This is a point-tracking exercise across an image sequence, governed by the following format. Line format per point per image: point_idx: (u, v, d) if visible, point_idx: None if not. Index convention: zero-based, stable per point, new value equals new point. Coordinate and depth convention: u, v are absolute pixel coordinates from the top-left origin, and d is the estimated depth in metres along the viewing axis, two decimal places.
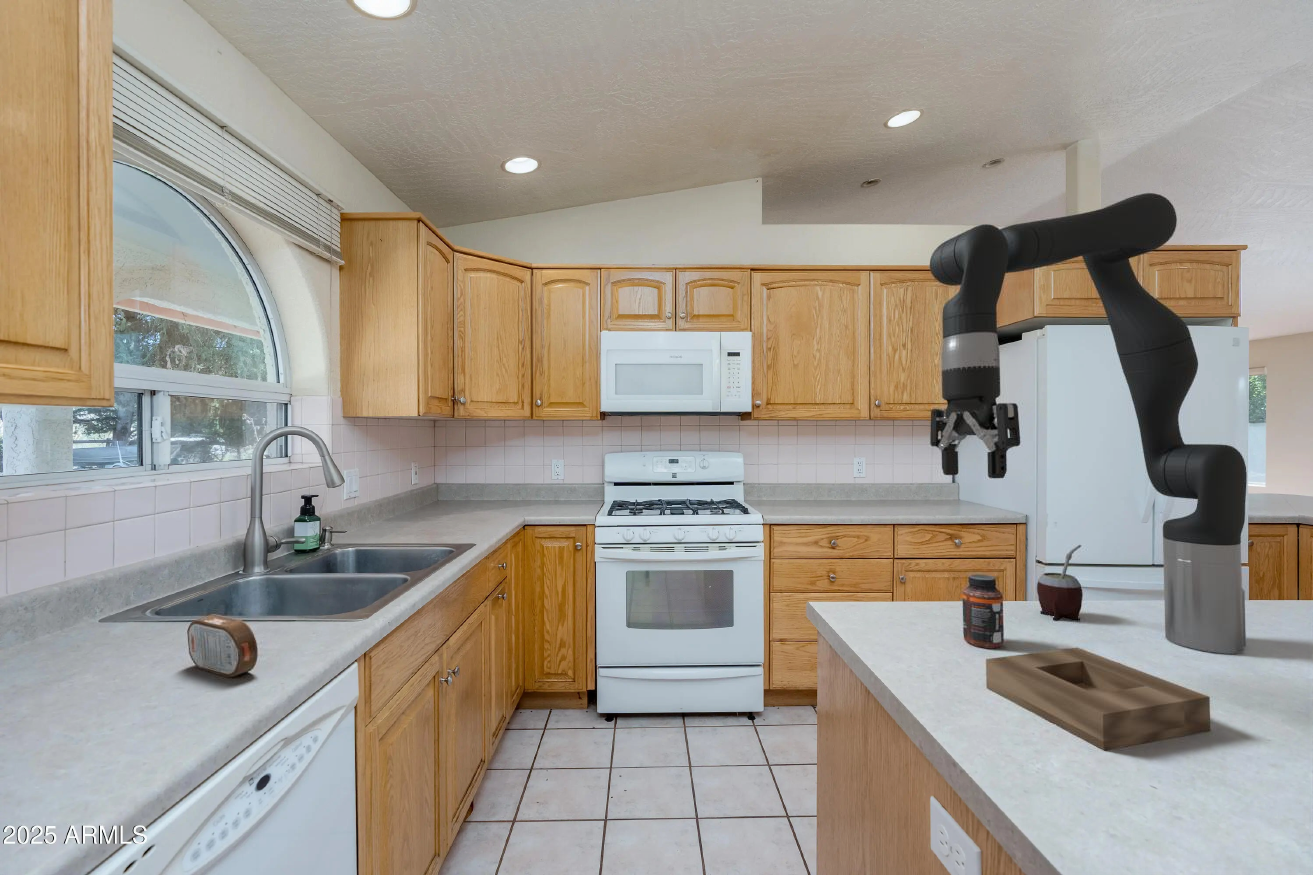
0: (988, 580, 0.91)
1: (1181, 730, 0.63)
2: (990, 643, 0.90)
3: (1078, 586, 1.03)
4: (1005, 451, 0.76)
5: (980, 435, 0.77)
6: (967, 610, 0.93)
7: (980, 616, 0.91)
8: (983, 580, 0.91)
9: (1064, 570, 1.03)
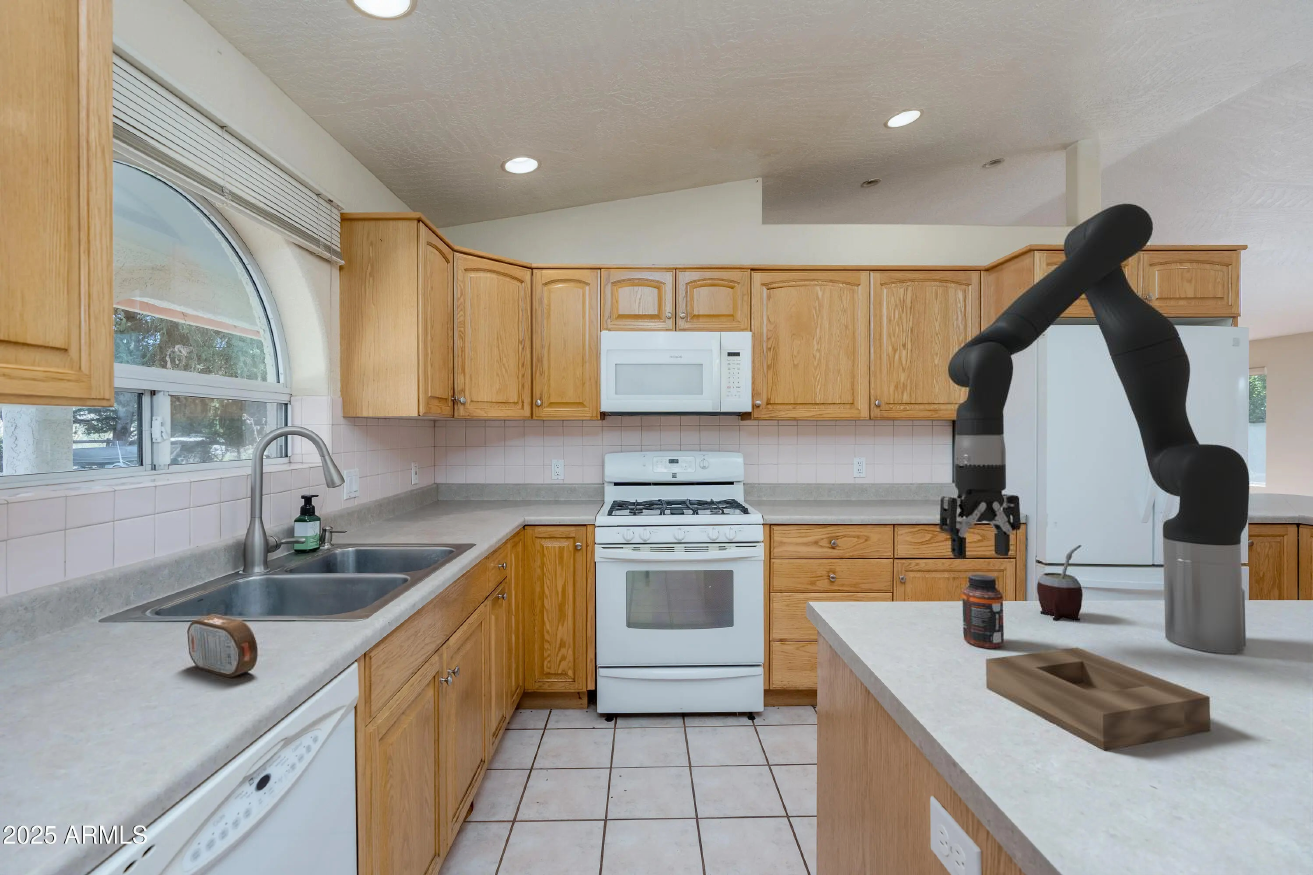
0: (988, 580, 0.91)
1: (1181, 730, 0.63)
2: (990, 643, 0.90)
3: (1078, 586, 1.03)
4: None
5: (1004, 521, 0.92)
6: (967, 610, 0.93)
7: (980, 616, 0.91)
8: (983, 580, 0.91)
9: (1064, 570, 1.03)
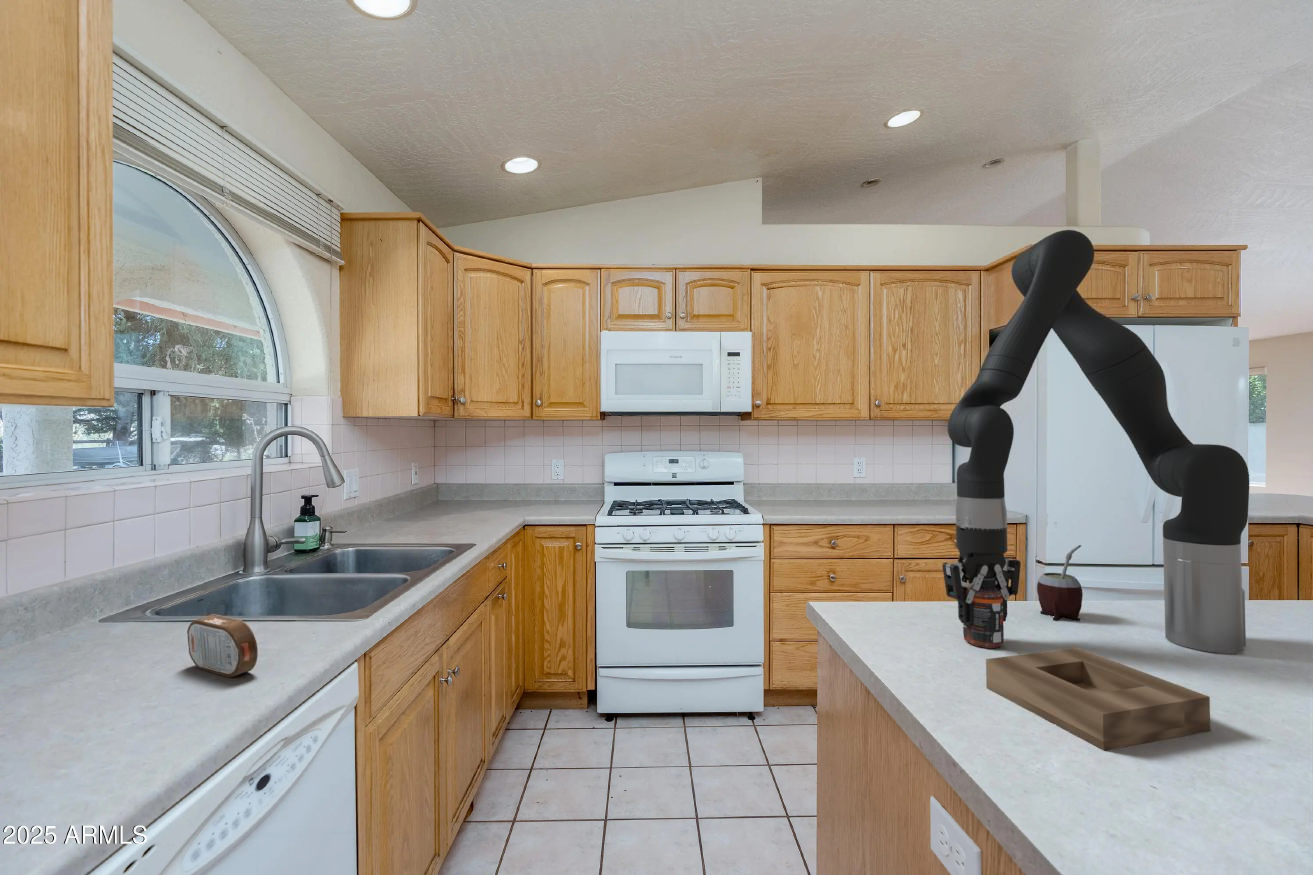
0: (988, 580, 0.91)
1: (1181, 730, 0.63)
2: (990, 643, 0.90)
3: (1078, 586, 1.03)
4: None
5: (1003, 586, 0.92)
6: None
7: (980, 616, 0.91)
8: (983, 580, 0.91)
9: (1064, 570, 1.03)
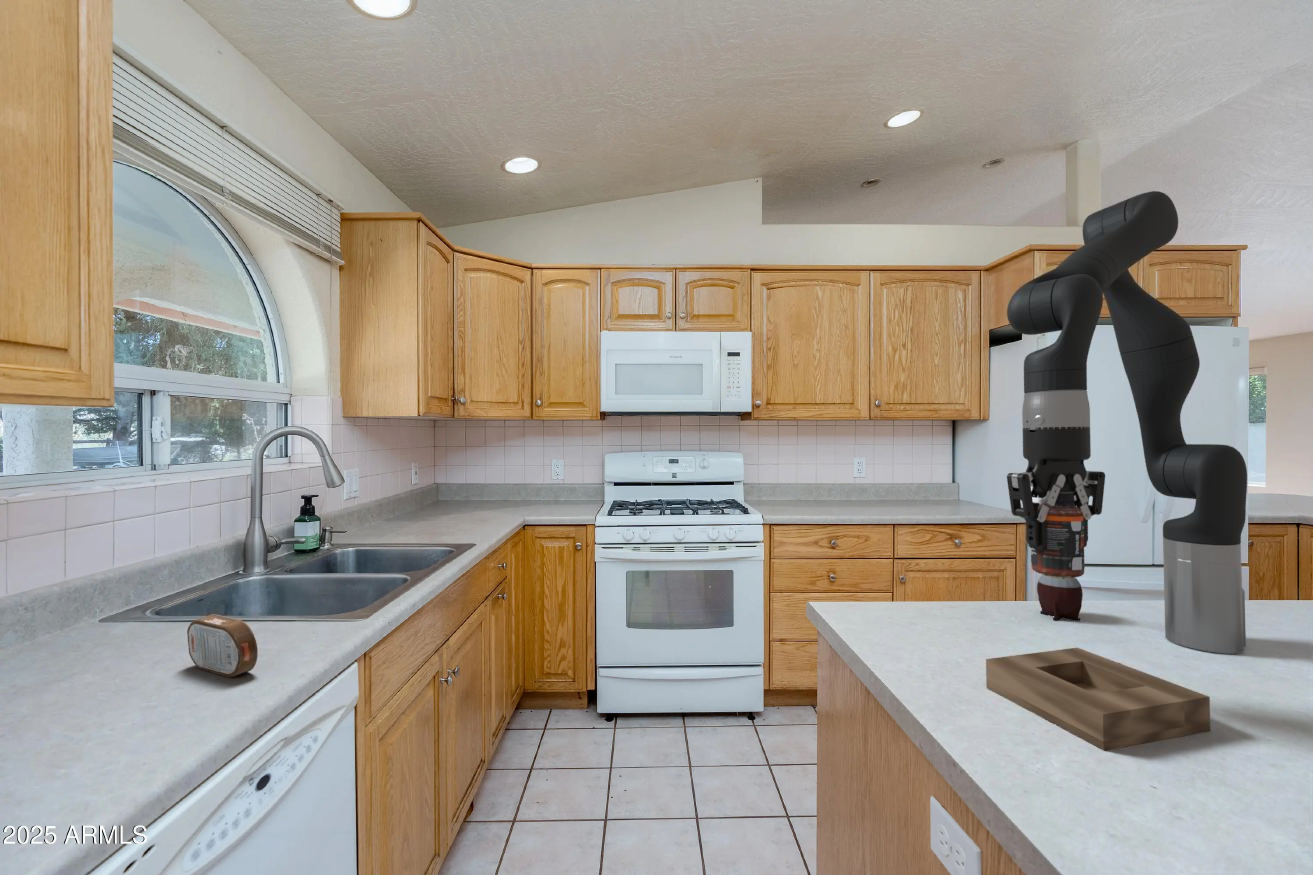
0: (1065, 493, 0.73)
1: (1181, 730, 0.63)
2: (1068, 571, 0.72)
3: (1078, 586, 1.03)
4: None
5: (1084, 502, 0.74)
6: None
7: (1055, 538, 0.73)
8: None
9: None
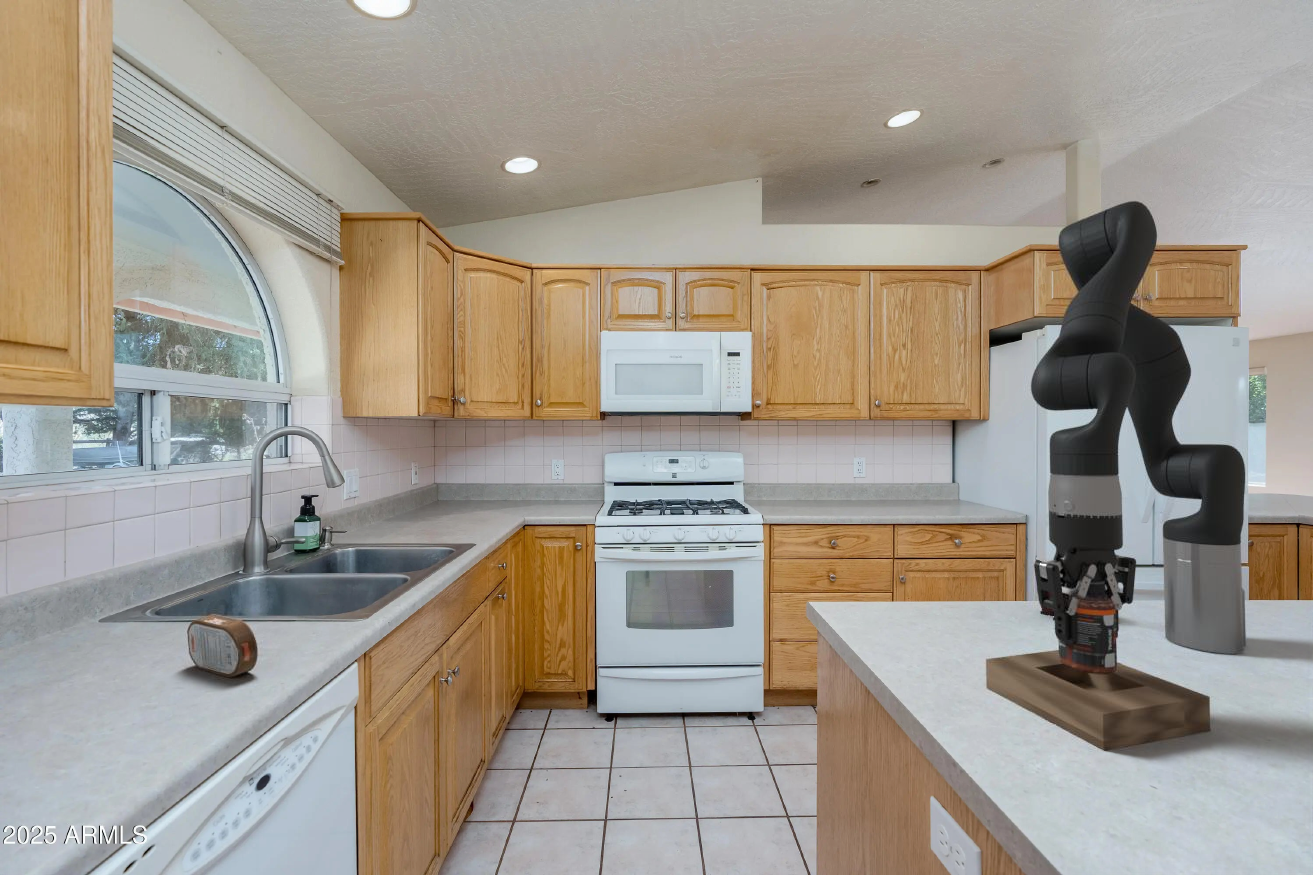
0: (1096, 584, 0.69)
1: (1181, 730, 0.63)
2: (1101, 668, 0.68)
3: None
4: None
5: (1115, 592, 0.70)
6: None
7: (1087, 632, 0.68)
8: (1089, 584, 0.69)
9: None
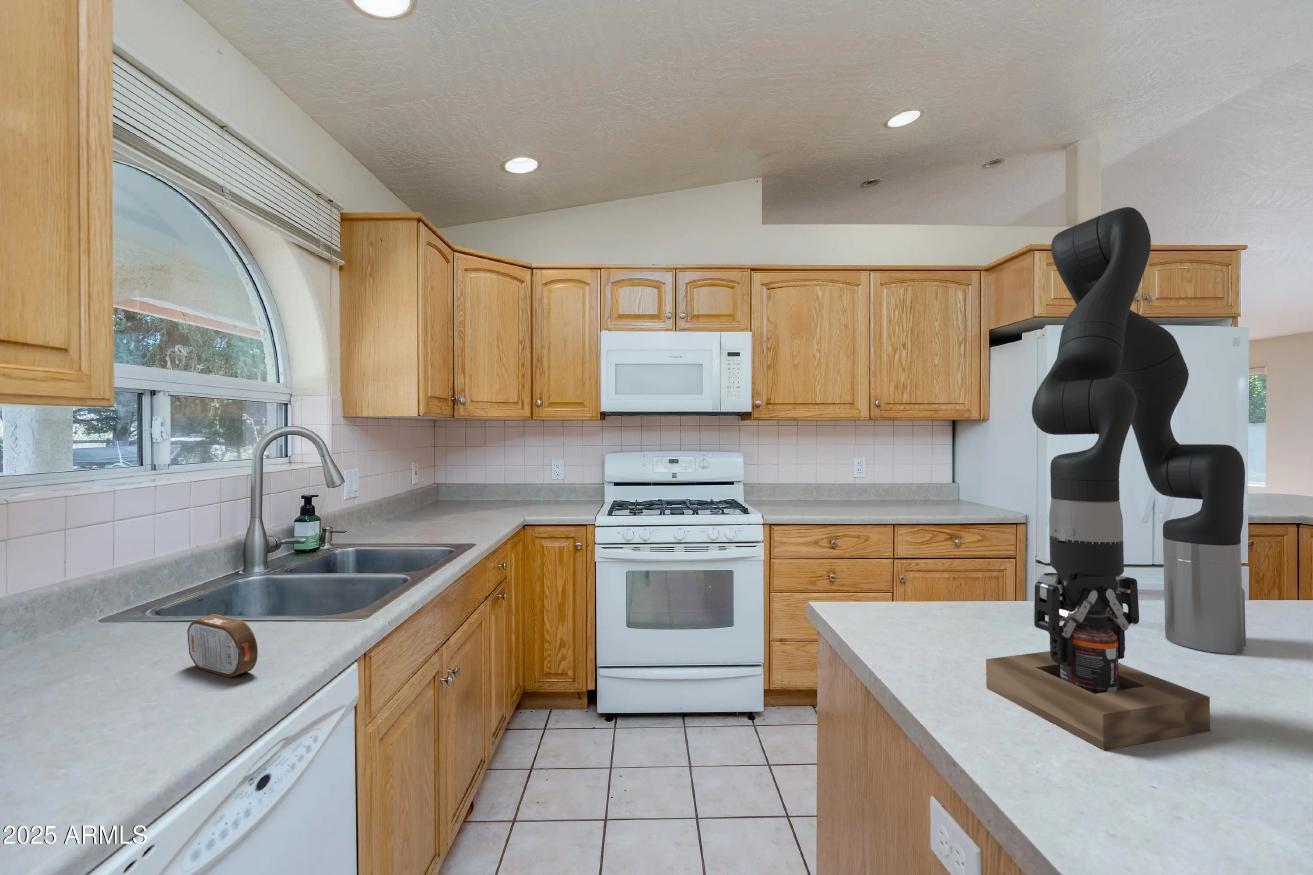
0: (1099, 617, 0.69)
1: (1181, 730, 0.63)
2: None
3: None
4: None
5: (1120, 614, 0.70)
6: None
7: (1089, 666, 0.68)
8: (1092, 617, 0.69)
9: None
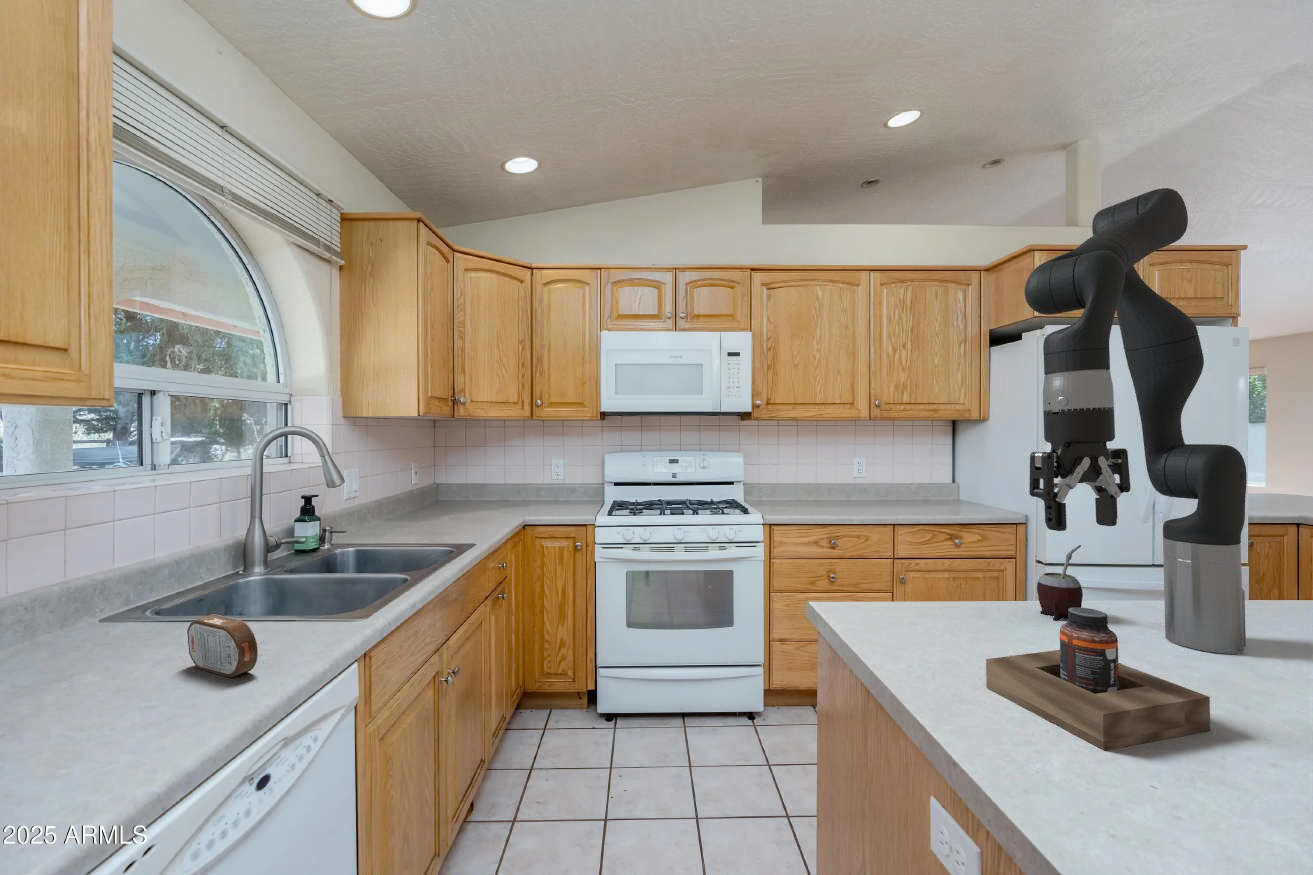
0: (1099, 617, 0.69)
1: (1181, 730, 0.63)
2: None
3: (1078, 586, 1.03)
4: None
5: (1112, 482, 0.72)
6: (1069, 656, 0.70)
7: (1089, 666, 0.68)
8: (1092, 617, 0.69)
9: (1064, 570, 1.03)
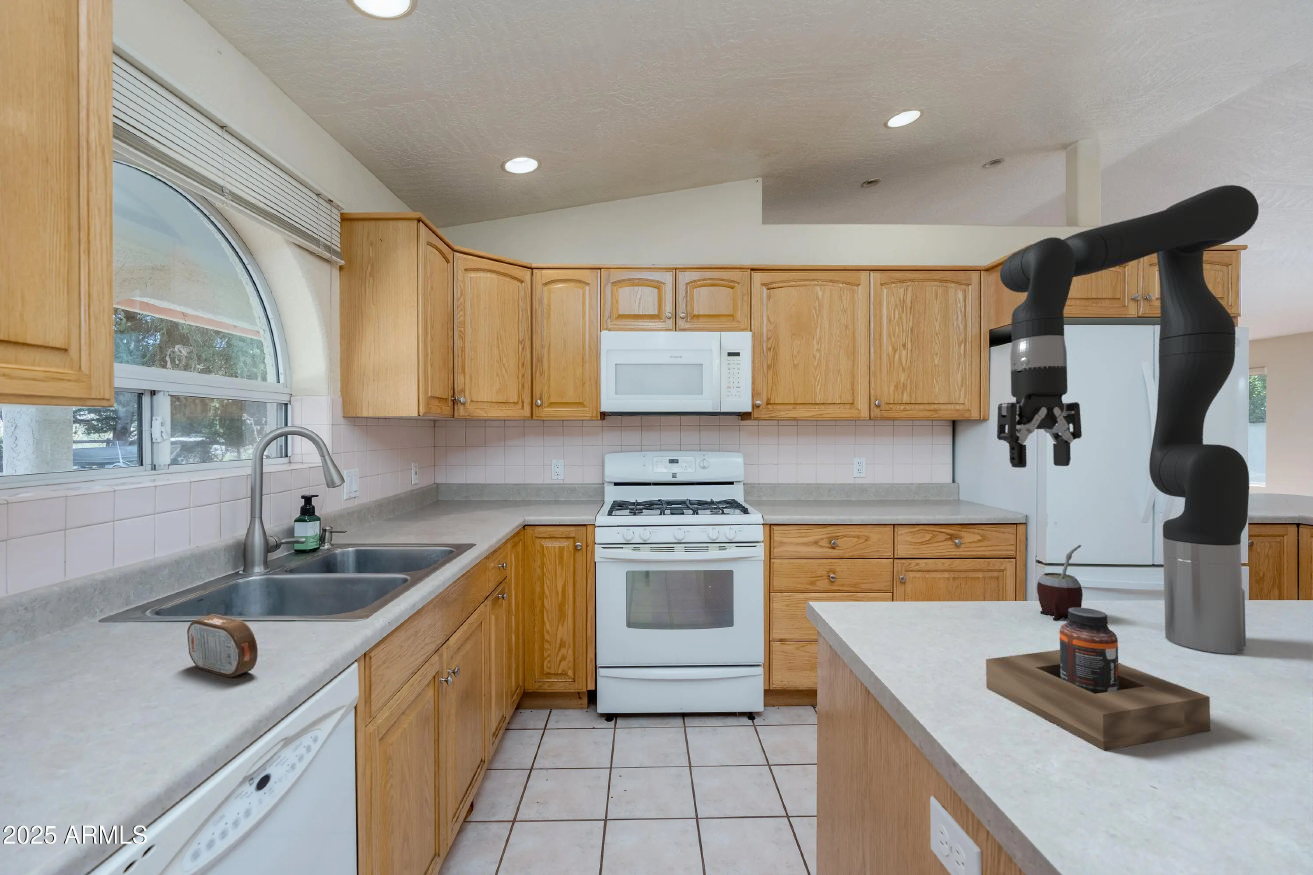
0: (1098, 617, 0.69)
1: (1181, 730, 0.63)
2: None
3: (1078, 586, 1.03)
4: None
5: (1065, 429, 0.88)
6: (1069, 656, 0.70)
7: (1089, 666, 0.68)
8: (1092, 617, 0.69)
9: (1064, 570, 1.03)
